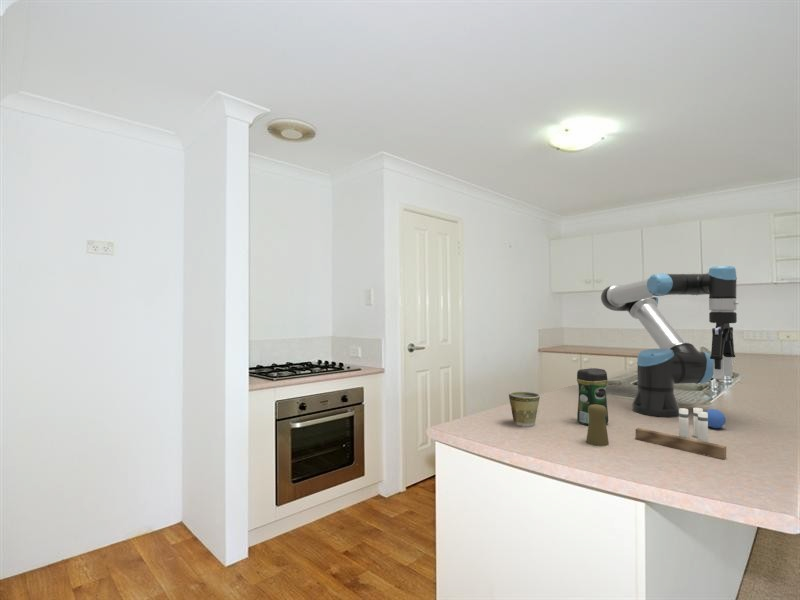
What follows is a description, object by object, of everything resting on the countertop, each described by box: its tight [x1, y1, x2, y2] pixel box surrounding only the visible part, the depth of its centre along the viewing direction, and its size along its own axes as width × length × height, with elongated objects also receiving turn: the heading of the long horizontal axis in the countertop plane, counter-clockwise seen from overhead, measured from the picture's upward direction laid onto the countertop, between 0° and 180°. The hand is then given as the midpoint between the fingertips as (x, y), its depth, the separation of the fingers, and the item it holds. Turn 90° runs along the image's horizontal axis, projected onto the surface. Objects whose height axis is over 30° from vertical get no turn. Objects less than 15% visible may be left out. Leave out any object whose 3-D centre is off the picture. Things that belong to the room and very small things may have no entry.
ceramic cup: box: [508, 391, 541, 428], centre depth 148 cm, size 13×10×10 cm
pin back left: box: [678, 407, 689, 438], centre depth 132 cm, size 2×2×9 cm
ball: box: [705, 408, 727, 429], centre depth 142 cm, size 6×6×6 cm
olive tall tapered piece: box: [586, 404, 610, 447], centre depth 127 cm, size 6×6×11 cm
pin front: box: [692, 407, 704, 438], centre depth 133 cm, size 2×2×9 cm
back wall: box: [635, 427, 727, 460], centre depth 123 cm, size 22×2×3 cm, turn 39°
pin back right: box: [697, 410, 709, 443], centre depth 128 cm, size 2×2×9 cm
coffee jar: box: [576, 367, 609, 426], centre depth 149 cm, size 10×8×19 cm
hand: (723, 377), depth 149 cm, fingers open, 9 cm apart
